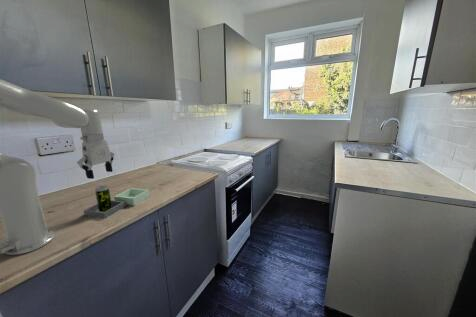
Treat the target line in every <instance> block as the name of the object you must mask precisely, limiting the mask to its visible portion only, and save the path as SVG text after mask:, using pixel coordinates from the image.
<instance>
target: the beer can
mask: <svg viewBox="0 0 476 317" xmlns="http://www.w3.org/2000/svg"><path fill="white" fill-rule="evenodd" d="M94 192H95V193H94V194H95V198H96V204H98V211H100V212H105V211H107V210H109V209H111V208H113V206H112V203H111V200H112V199H111V193H110V187H109V186H108V185H107V184H106V185H105V184H103V185H102V184H101V185H99V186H96V187H95V191H94Z"/></svg>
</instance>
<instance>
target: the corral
mask: <svg viewBox="0 0 476 317" xmlns="http://www.w3.org/2000/svg"><path fill="white" fill-rule="evenodd" d="M111 203H112V208H111V209H109V210H107V211H105V212H100V211H99V209H98V204H97V203H95V204H93V205H92V206H90V207H89V206H88V207H87V208H85V209H83V214H84V216H87V217H93V218H94V217H95V218H102V219H106V218H108V217H110V216H111V215H113V214H115V213H117V212H119V211H121V209H124V208H125V207H126V205H125V202H122V201H115V199H113V200H112V199H111Z"/></svg>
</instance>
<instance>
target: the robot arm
mask: <svg viewBox="0 0 476 317" xmlns="http://www.w3.org/2000/svg"><path fill="white" fill-rule="evenodd" d="M0 109H3V110H6V111H9V112H11V113H15V114H19V115H25V116H31V117H32V116H33V117H40V118H43V119H47V120H51V121H52V122H53V124H55V125H56V126H58V127H61V128H64V129H80V133H81V136H80V140H81V141H82V142H81V151H82V157H81V158H80V159H78V160H77V161H76V164H77V165H78V166H79V168H80V169H82V170H83V171H85V175H86V176H85V177H86V178H87V179H92V180H93V179H94V178H95V176H94V172H93V169H92V167H93V166H95V165H99V164H103V163H104V166H105V171H106V172H108V173H112V172H114V171H113V165H112V164H113V160H114V158H115V157H114V156H115V153H114V152H111V150H110V148H109V147H110V146H109V144H108V141H107V139H105V138H104V132H103V126H102V122H101V116H100V112H99V110H98V109H95V108H79V107H78V106H75V105H73V104H70V103H68V102H65V101H63V100H60V99H58V98H55V97H52V96H51V97H50V96H48V95H44V94H42V93H39V92H36V91H32V90H30V89H26V88H24V87H20V86H19V85H16V84H14V83H12V82H8V81H7V80H4V79H1V78H0ZM43 210H44V209H43V207H42V202H41V199H40V195H39V192H38V186H37V174H36V169H35V168H34V166H33V165H32V164H31V163H30V162H28V161H27V160H26V159H23V158H21V157H16V156H14V157H13V156H8V155H6V154H5V153H1V152H0V217H1V221H2V225H3V227H4V231H5V233H6V238H5V239H3V242H2V243H1V244H0V254H1V255H3V254H5V255H9V256H17V255H23V254H27V253H30V252H33V251H35V250H37V249H40V248H43V247H44V246H47V244H49V243H51V242H52V241H53V239H54V238H55V236H56V233H55V232H54V231H53V230H48V226H47V223H46V218H45V214H44V211H43Z"/></svg>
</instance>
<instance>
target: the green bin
mask: <svg viewBox="0 0 476 317" xmlns="http://www.w3.org/2000/svg"><path fill="white" fill-rule="evenodd" d="M150 196H151V195H150V190H149V189H145V188H144V189H143V188H135V187H134V188H133V187H132V188H128V189H126V190H124V191H122V192H120V193H118V194H116V195H114V196H113V200H114V201H122V202H125V206H133V207H135V206H136V205H138V204H140V203H141V202H143V201H145V200H147V199H148V198H150Z"/></svg>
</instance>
